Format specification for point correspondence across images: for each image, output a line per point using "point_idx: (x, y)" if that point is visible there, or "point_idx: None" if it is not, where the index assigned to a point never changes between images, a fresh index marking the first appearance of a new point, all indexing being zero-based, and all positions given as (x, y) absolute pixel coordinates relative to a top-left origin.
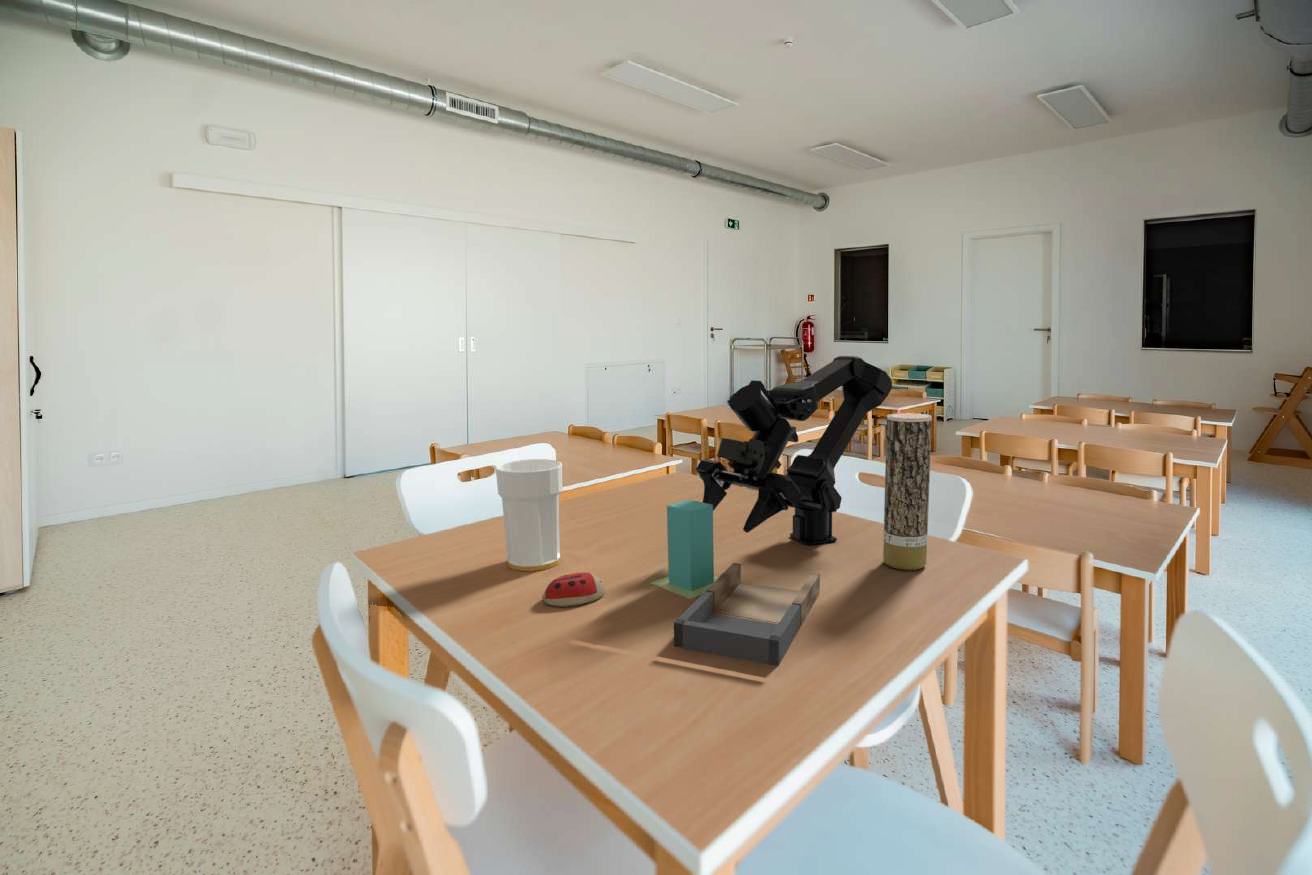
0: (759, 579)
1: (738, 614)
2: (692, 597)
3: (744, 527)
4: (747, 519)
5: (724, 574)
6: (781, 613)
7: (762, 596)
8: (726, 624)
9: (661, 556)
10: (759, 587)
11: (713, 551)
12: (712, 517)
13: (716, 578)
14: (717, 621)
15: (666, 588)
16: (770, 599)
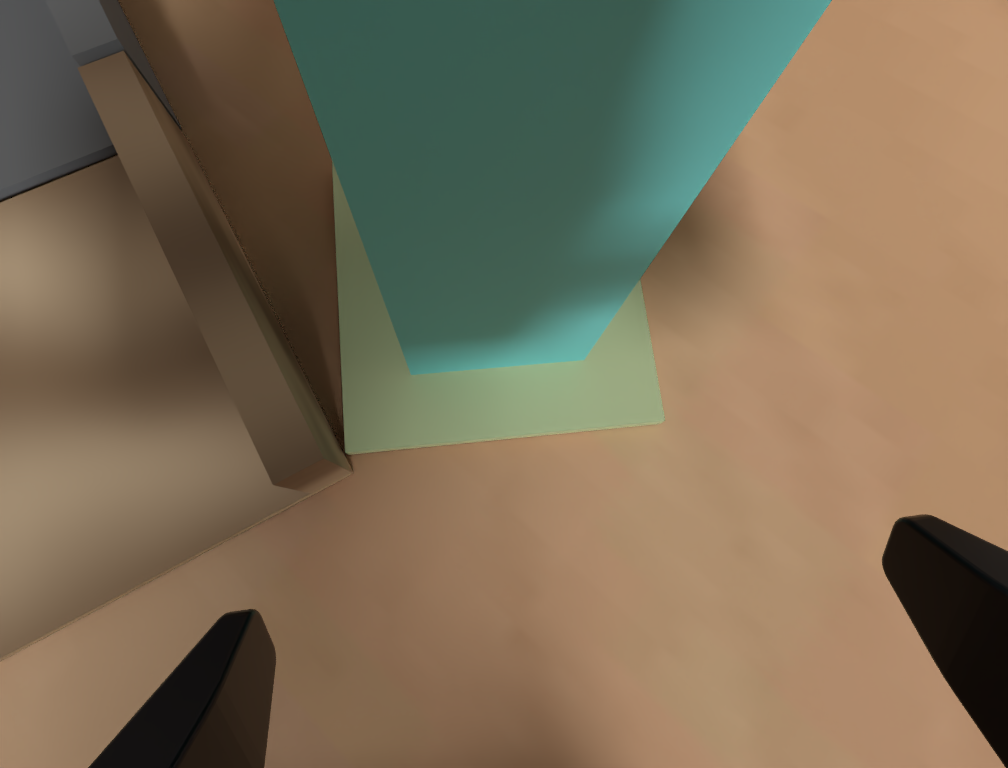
0: (301, 651)
1: (38, 204)
2: (335, 173)
3: (232, 624)
4: (189, 717)
5: (213, 271)
6: None
7: (85, 445)
8: (15, 104)
9: (960, 448)
10: (180, 525)
11: (387, 310)
12: (317, 115)
13: (445, 424)
14: (67, 97)
15: None
16: (24, 448)
